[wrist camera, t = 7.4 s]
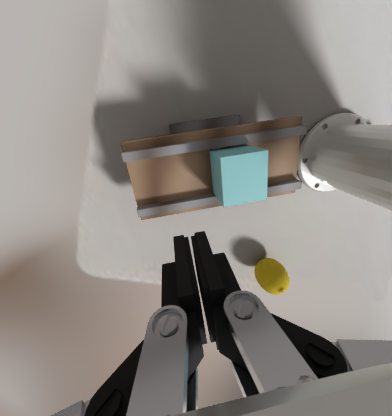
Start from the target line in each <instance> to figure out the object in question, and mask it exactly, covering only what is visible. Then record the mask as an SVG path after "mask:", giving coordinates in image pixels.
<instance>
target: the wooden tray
mask: <svg viewBox="0 0 392 416" xmlns="http://www.w3.org/2000/svg"><path fill="white" fill-rule="evenodd" d="M301 122H302V117H289V118H282V119H275V120H268V121H261V122H254V123H247V124H240V115H234V116H227V117H220V118H213V119H206V120H198V121H191V122H184V123H177V124H170V130H171V134H170V135H163V136H156V137H149V138H142V139H135V140H128V141H122V142H121V146H122V150H123V152H122V153H121V155H122V158H123V162H126V165H127V168H128V172H129V176H130V180H131V183H132V187H133V191H134V195H135V198H136V202H137V206H138V207H137V213H138V217H141V220H144V219H150V218H156V217H161V216H167V215H172V214H178V213H183V212H189V211H194V210H200V209H206V208H211V207H217V206H222V204H221V202H220V201H219V200H218V198H217V197H216V195H215V194H214V193H213V185H212V174H211V163H210V152H209V151H210V150H216V149H223V148H229V147H236V146H242V145H252V146H256V147H259V148H263V149H266V150H268V182H267V197H272V196H278V195H283V194H289V193H294V192H295V189H301V184H302V181H300V180H297V179H296V177H297V166H298V155H299V144H300V135H306V134H307V126H305V125H301Z"/></svg>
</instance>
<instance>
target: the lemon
mask: <svg viewBox="0 0 392 416" xmlns="http://www.w3.org/2000/svg"><path fill="white" fill-rule="evenodd" d="M255 277H256V279H257V281H258V283H259V284H260V286H261V287H262V288H263V289H264V290H265V291H267V292H268V293H271V294H281V293H283V292H285V291H286V290H287V288H288V286H289V277H288V274H287V272H286V270H285V268H284V267H283V266H282V265H281V264H280V263H279V262H278V261H276V260H274V259H271V258H265V259H262V260H260V261H259V262H258V263H257V264H256V267H255Z"/></svg>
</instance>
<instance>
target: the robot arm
mask: <svg viewBox="0 0 392 416" xmlns="http://www.w3.org/2000/svg"><path fill="white" fill-rule="evenodd" d="M297 171H298V174H299V177H300V179H301V181H302V182H303V183H304V184H305V185H306V186H308V187H309V188H311V189H314V190H317V191H324V192H327V191H332V190H335V189H339V190H342V191H344V192H347V193H349V194H352V195H354V196H357V197H359V198H362V199H364V200H367V201H369V202H372V203H374V204H377V205H379V206H382V207H384V208H387V209H389V210H392V125H368V124H367V122H366V121H365V120H364V119H363V118H362V117H360V116H358V115H356V114H352V113H338V114H333V115H331V116H328V117H326V118H324V119H323V120H321V121H320V122H318V123H317V124H316V125H315V126H314V127H313V128H312V129H311V130H310V131H309V132H308V134H307V135H306V137H305V138H304V140H303V142H302V144H301V146H300V149H299V155H298V166H297ZM191 239H192V246H193V252H194V258H195V265H196V271H197V277H198V282H199V287H200V292H201V297H202V301H203V307H204V311H205V316H206V321H207V326H208V331H209V335H210V340H211V342H215V341H216V345H217V350H219V352H220V353H221V354H223V355H224V356H226V357H227V358H229V362H230V365H231V368H232V370H233V372H234V375H235V377H236V380H237V382H238V384H239V387H240V389H241V392H242V394H243V396H244V398H240V399H237V400H233V401H229V402H225V403H221V404H217V405H213V406H209V407H205V408H201V409H198V369H197V366H198V365H199V363H200V361H201V360H202V358H203V356H204V354H203V347H202V344H206V343H207V340H206V334H205V328H204V321H203V315H202V309H201V302H200V297H199V290H198V285H197V280H196V275H195V270H194V265H193V260H192V255H191V250H190V245H189V240H188V237H185V238H184V235H181V236H175V237H174V251H175V262H172V263H166V264H163V265H162V307H161V308H160V309H158V310H157V311H156V312H155V313H153V315H152V316H151V318H150V320H149V322H148V325H147V330H146V334H145V338H144V340H143V341H142V342H141V343H140V344H139V345H138V346H137V347H136V349H135V350H134V351H133V352H132V353H131V354H130V355H129V356H128V357H127V358H126V360H125V361H124V362H123V363H122V364H121V365H120V366H119V367H118V368H117V369H116V371H115V372H114V373H113V374H112V375H111V376H110V378H108V379H107V381H106V382H105V383H104V384H103V385H102V386H101V387H100V388H99V389H98V390H97V392H96V393H95V394H94V396H93V397H92V398H91V399H90V400H89V401H87V402H85V403H84V402H83V401H82V400H81V401H79V402H77V403H75V404H73V405H71V406H69V407H67V408H65V409H63V410H61V411H59V412H57V413H55V414H53V415H51V416H392V341H382V340H339V339H338V340H337V342H334V343H333V342H330V341H328V340H326V339H325V338H323V337H321V336H319V335H316V334H314V333H312V332H310V331H308V330H306V329H303V328H302V327H299V326H297V325H295V324H293V323H291V322H289V321H286V320H284V319H282V318H280V317H278V316H276V315H273V314H271V313H270V312H269V311H268V310H267V308H266V307H265V306H264V304H263V303H262V302H261V300H260V299H259V298H258V297H257V296H256V295H254V294H253V293H251V292H248V291H241V289H240V287H239V285H238V282H237V280H236V278H235V276H234V273H233V271H232V269H231V267H230V264H229V262H228V260H227V258H226V255H225V254H224V253H219V254H213V253H212V250H211V248H210V245H209V242H208V239H207V236H206V234H205V231H203V232H197V233H195V236H191Z"/></svg>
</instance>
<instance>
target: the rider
mask: <svg viewBox="0 0 392 416" xmlns="http://www.w3.org/2000/svg"><path fill="white" fill-rule="evenodd" d="M209 152H210V163H211V174H212V185H213V193H214V194H215V195H216V197H217V198H218V200H219V201H220V202H221V204H222V205H223V207H227V206H233V205H238V204H244V203H249V202H255V201H261V200H266V199H267V182H268V150H266V149H263V148H259V147H256V146H252V145H242V146H236V147H229V148H223V149H216V150H210V151H209Z"/></svg>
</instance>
